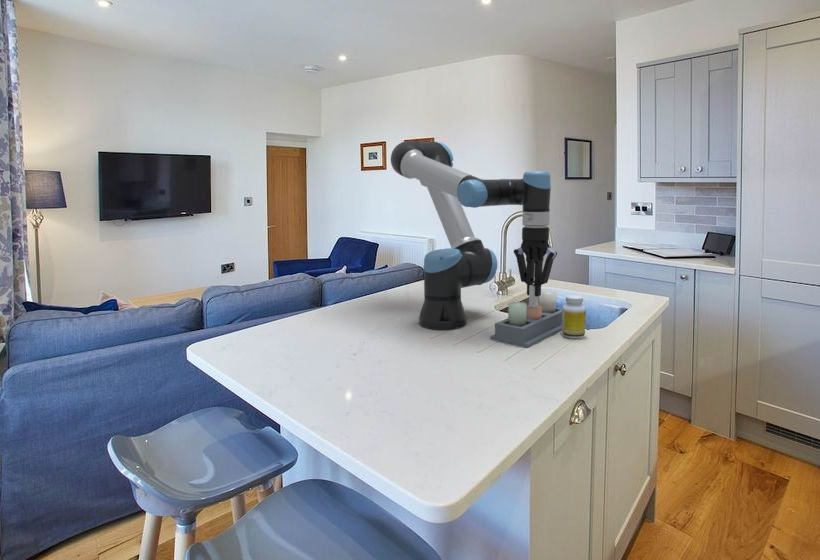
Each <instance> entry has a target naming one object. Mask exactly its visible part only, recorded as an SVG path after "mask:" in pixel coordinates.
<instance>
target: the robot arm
mask: <svg viewBox="0 0 820 560" xmlns="http://www.w3.org/2000/svg"><path fill="white" fill-rule="evenodd" d="M453 162H454V156H453V152H452V151H451V149H450V148H449V147H448V145H446V144H444V143H443V142H439V141H433V140H432V141H419V140H418V141H417V140H405V141H401V142H400V143H398V144H397V145H396V146H395V147H394V148H393V150H392V151H391V153H390V164H391V167H392V168H393V170H394V172H396V174H398V175H400V176H401V177H404V178H406V179H409V180H412V179H416V180H417V181H419V183H420V185H421V186H423V187H426V188H427V191H428V193H429V196H430V198H431V200H432V203H433V205H434V207H435V210H436V213H437V215H438V218H439V220H440V223H441V225H442V228H443V230H444V233H445V235H446V237H447V240H448V243H449V245H450V248H449V247H448V248H443V249H442V248H440V249H435V250H432V251H429V252H427V253H426V254H425V256H424V258H423V260H424V261H423V267H422V268H423V287H424V288H423V290H424V292H423V293H424V294H423V295H424V299H423V300H424V301H423V304H422V306H421V309H420V314H419V318H418V319H419V321H418V323H419V325H420V326H421V327H424V328H427V329H432V330H455V329H459V328H463V327H465V326H466V325H467V315H466V313H465V309H464V305H463V302H462V288H463V289H465V288H469V287H473V286H481V285H483V284H487V283H489V282H490V281H492V280H493V279H494V278H495V276H496V273H497V270H498V259H497V256H496V254H495V252H494V251H493V250H491V249H490V248H488V247H487V248H486V247H485V246H484V244H483V241H482V239H480V238H478V237H475V234H474V232H473V230H472V227H471V225H470V222H469V220H468V218H467V214H466V212H465V211H464V208H463V207H466V208H472V209H473V208H474V209H475V208H479V207H495V206H496V207H497V206H508V205H509V206H522V226H524V227H522V228H521V240H522V242H521V244H520V246H519V247H518V248H516V249H513V253H514V255H515V257H516V262H517V267H518V272H519V273H518V274H519V278H520V281H521V283H525V284H526V295H527V296H528V305H529V307H531V308H534V307H537V306H539V296H540V295H541V291H542V286H543V285H545V284H547V283H549V279H550V274H551V271H552V267H553V262H554V260H555V259H556V258H557V255H558V252H557V251H553V249H551V246H550V244H549V239H550V227H548V226H549V225H550V202H551V189H552V186H551V174H550V172H549V171H546V170H544V171H543V170H542V171H541V170H540V171H538V170H537V171H525V172H524V173H523V175H522V176H523V177H522V178H499V179H484V178H483V179H482V178H479V177H476V176H473V175H472V174H469V173H467V172H464V171H462V170H460V169H457V168H455V167H453V165H454V163H453ZM545 256H546V258H545V260H544V257H545ZM544 261H545V262H544ZM543 262H544V264H543Z"/></svg>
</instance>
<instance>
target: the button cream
mask: <svg viewBox="0 0 820 560" xmlns="http://www.w3.org/2000/svg"><path fill="white" fill-rule="evenodd" d="M538 306H541V307H542V312H545V313H551V314H552V313H554V312H556V308H557V292H556V291H552V290H543V291H542V290H541V295H540V296H538Z"/></svg>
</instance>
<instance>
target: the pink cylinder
mask: <svg viewBox="0 0 820 560" xmlns="http://www.w3.org/2000/svg"><path fill="white" fill-rule="evenodd" d="M526 318H529V319H535V320H538V319H541V318H542V307H541V306H539V305H538V306H537V307H534V308H531V307H529V304H528V305H527V314H526Z"/></svg>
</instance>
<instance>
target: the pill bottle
mask: <svg viewBox="0 0 820 560" xmlns="http://www.w3.org/2000/svg"><path fill="white" fill-rule="evenodd" d="M565 302H566V303H565V304H563V306H562V307H561V308H562V331H560V333H561V335H562V337H564V338H568V339H574V340H575V339H582V338H584V337H585V333H586V332H585V331H586V316H587V315H586V314H587V312H586V311H587V310H586V306H585V305H583V302H584V297H583V296H581V295H577V294H576V295H575V294H572V295H571V294H569V295H566V296H565Z"/></svg>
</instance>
